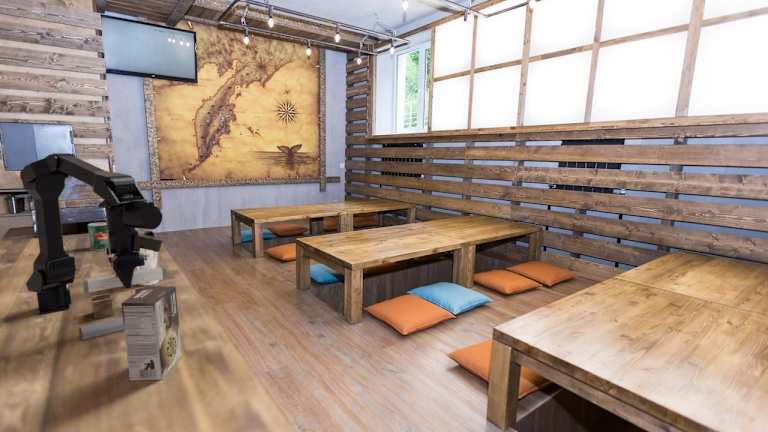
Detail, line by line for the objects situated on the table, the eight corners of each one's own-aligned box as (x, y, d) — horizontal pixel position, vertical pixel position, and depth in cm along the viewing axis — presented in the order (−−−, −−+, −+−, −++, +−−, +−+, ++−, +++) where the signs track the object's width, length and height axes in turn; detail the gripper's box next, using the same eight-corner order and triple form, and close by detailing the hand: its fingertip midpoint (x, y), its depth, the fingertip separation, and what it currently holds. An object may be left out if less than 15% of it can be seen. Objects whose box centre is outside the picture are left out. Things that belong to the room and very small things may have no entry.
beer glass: (149, 286, 124) (145, 241, 122) (131, 285, 126) (126, 240, 123) (165, 279, 131) (161, 237, 128) (148, 278, 132) (144, 235, 130)
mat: (82, 340, 89) (82, 338, 89) (81, 328, 95) (80, 326, 95) (177, 317, 102) (177, 316, 102) (170, 307, 108) (170, 306, 108)
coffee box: (151, 356, 83) (145, 285, 80) (182, 355, 84) (177, 284, 81) (127, 381, 74) (119, 302, 71) (162, 380, 75) (155, 301, 72)
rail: (84, 293, 91) (83, 282, 90) (83, 290, 93) (82, 279, 92) (166, 278, 102) (165, 268, 101) (164, 276, 104) (163, 266, 103)
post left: (94, 319, 100) (92, 302, 99) (93, 312, 104) (91, 296, 104) (113, 315, 103) (111, 298, 102) (111, 309, 107) (109, 293, 106)
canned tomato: (103, 250, 166) (101, 225, 165) (85, 250, 167) (82, 225, 165) (116, 246, 174) (114, 222, 172) (99, 245, 174) (96, 222, 173)
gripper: (166, 228, 93) (171, 290, 95) (151, 217, 107) (156, 271, 109) (110, 234, 86) (117, 300, 88) (102, 221, 100) (108, 279, 102)
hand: (127, 286), depth 97 cm, fingers closed on rail, 3 cm apart
